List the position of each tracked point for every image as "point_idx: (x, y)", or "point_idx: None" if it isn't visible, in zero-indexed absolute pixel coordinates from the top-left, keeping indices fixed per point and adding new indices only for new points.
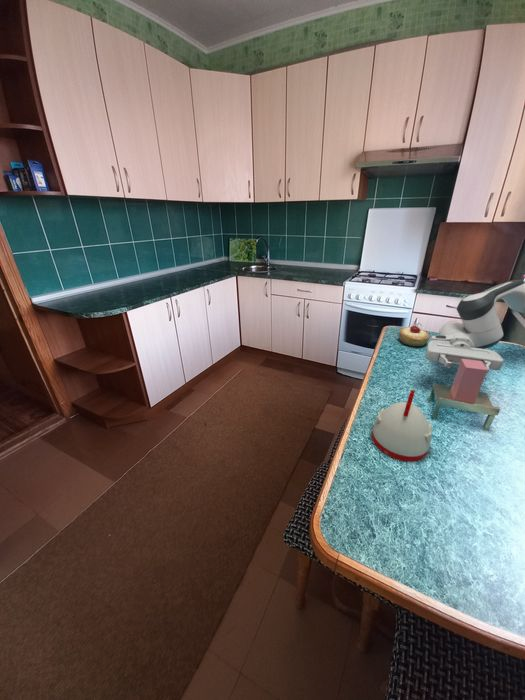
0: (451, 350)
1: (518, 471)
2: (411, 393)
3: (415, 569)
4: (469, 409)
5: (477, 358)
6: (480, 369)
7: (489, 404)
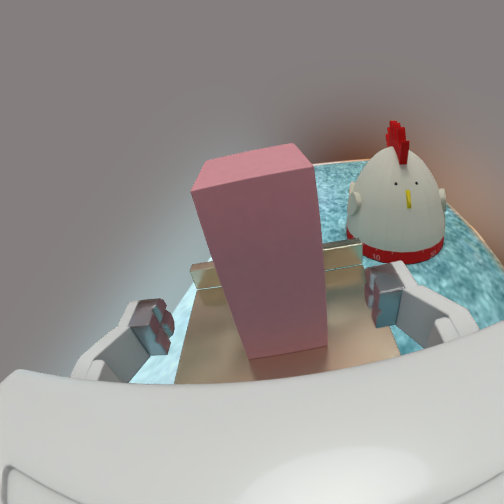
0: (420, 435)
1: (208, 261)
2: (397, 123)
3: (330, 167)
4: None
5: (137, 384)
6: (233, 155)
7: (197, 321)
